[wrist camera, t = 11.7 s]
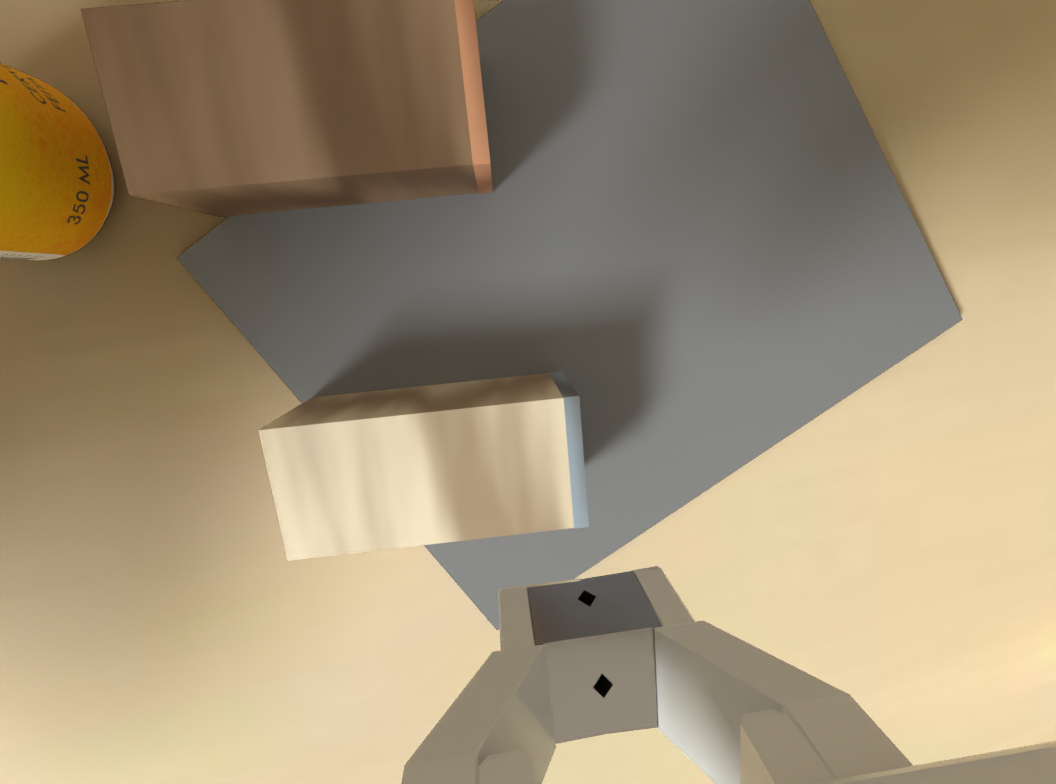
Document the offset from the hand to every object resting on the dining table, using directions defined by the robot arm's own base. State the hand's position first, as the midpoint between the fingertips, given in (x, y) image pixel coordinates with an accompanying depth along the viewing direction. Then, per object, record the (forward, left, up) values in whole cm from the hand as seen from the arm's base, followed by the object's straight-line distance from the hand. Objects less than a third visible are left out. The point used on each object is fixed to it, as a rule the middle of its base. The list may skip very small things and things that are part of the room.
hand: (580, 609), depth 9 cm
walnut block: (+5, +10, -9) cm, 15 cm away
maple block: (+1, -1, -9) cm, 9 cm away
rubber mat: (+5, +3, -12) cm, 13 cm away
